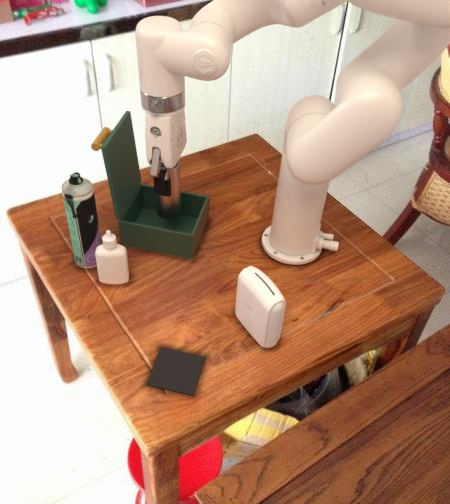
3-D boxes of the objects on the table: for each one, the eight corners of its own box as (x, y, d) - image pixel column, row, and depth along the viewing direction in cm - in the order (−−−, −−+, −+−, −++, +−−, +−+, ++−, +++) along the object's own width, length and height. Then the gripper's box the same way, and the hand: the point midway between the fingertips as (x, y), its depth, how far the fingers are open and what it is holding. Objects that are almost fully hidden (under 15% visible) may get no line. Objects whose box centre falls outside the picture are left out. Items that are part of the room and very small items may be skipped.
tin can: (184, 205, 114) (182, 157, 106) (177, 221, 111) (175, 172, 102) (160, 201, 115) (157, 153, 106) (153, 216, 111) (149, 167, 103)
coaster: (205, 357, 96) (205, 356, 96) (193, 396, 91) (193, 395, 90) (160, 347, 97) (160, 346, 97) (146, 385, 91) (146, 384, 91)
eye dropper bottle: (108, 267, 109) (102, 219, 100) (133, 277, 108) (128, 229, 99) (95, 281, 107) (87, 233, 98) (120, 291, 105) (114, 244, 96)
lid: (130, 111, 106) (107, 109, 106) (104, 147, 97) (80, 144, 98) (141, 181, 117) (121, 179, 118) (120, 219, 108) (97, 217, 109)
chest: (208, 220, 121) (209, 196, 116) (192, 260, 112) (192, 236, 107) (141, 207, 122) (140, 183, 117) (120, 246, 114) (118, 221, 109)
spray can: (101, 270, 109) (88, 185, 94) (72, 268, 108) (55, 183, 94) (105, 251, 112) (94, 166, 98) (78, 249, 112) (62, 164, 97)
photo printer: (230, 313, 103) (235, 265, 94) (250, 305, 105) (256, 256, 96) (262, 352, 97) (270, 305, 88) (282, 343, 99) (292, 295, 90)
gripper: (169, 126, 89) (173, 216, 102) (197, 77, 100) (197, 164, 113) (124, 119, 90) (134, 209, 103) (157, 72, 101) (162, 159, 114)
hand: (167, 185), depth 108 cm, fingers closed on tin can, 5 cm apart
